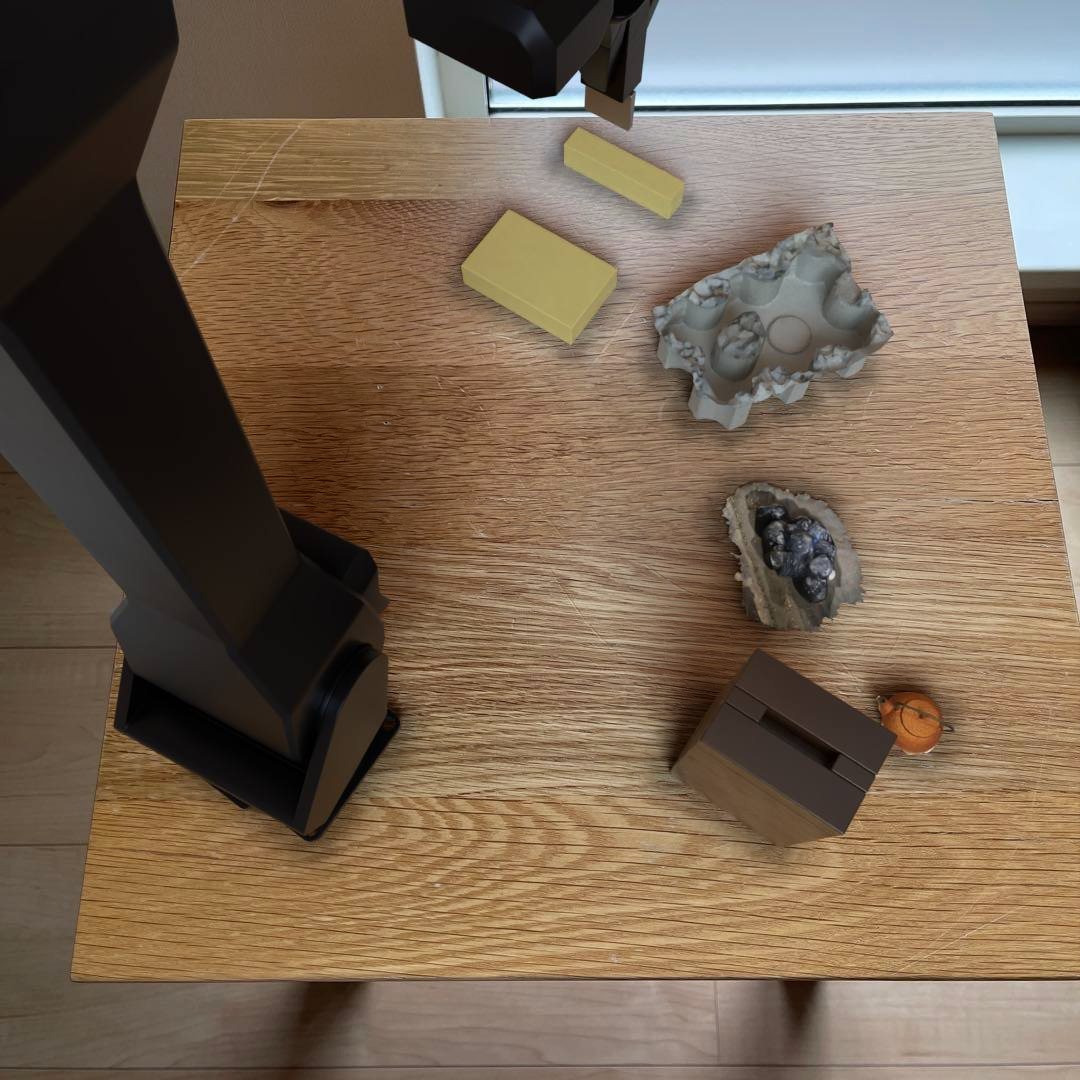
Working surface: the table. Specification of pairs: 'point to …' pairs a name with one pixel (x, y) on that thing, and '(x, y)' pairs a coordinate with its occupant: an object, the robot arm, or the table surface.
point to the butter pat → (623, 173)
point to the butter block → (539, 276)
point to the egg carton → (770, 327)
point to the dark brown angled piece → (622, 75)
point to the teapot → (913, 721)
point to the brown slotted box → (783, 754)
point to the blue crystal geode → (791, 557)
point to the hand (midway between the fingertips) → (609, 71)
